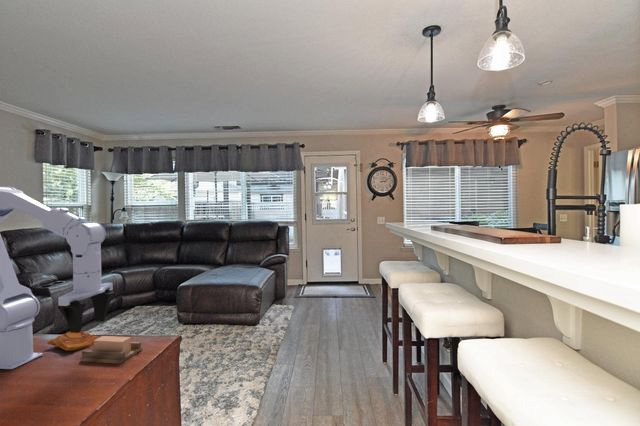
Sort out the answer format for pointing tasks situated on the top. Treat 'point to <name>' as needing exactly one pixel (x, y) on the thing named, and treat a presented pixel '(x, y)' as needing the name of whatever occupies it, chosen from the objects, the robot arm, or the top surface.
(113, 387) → the top surface
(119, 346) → the clay strip
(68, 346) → the pottery fragment
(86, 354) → the grey u-channel
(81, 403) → the top surface
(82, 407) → the top surface
